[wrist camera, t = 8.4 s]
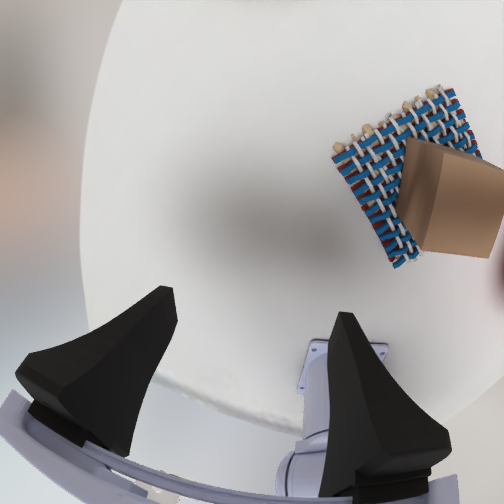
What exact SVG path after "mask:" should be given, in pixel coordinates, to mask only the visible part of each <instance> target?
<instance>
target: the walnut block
mask: <svg viewBox="0 0 504 504" xmlns="http://www.w3.org/2000/svg"><path fill="white" fill-rule="evenodd" d="M395 212H396V214H397V215H398V217H399V218H400V219H401V221H402V222H403V224H404V225H405V227H406V228H407V230H408V231H409V232H410V234H411V235H412V237H413V238H414V240H415V241H416V243H417V245H418V246H419V248H420V249H421V250H422V251H431V252H439V253H448V254H456V255H465V256H473V257H481V258H489V256H490V253H491V251H492V248H493V245H494V242H495V240H496V237H497V234H498V231H499V228H500V225H501V221H502V218H503V215H504V170H502V169H501V168H499V167H497V166H495V165H493V164H491V163H489V162H487V161H485V160H483V159H481V158H479V157H477V156H474V155H472V154H470V153H467V152H464V151H461V150H457V149H454V148H451V147H447V146H444V145H440V144H436V143H432V142H428V141H424V140H420V139H416V138H411V137H407V142H406V150H405V158H404V164H403V171H402V177H401V183H400V188H399V194H398V199H397V204H396V209H395Z"/></svg>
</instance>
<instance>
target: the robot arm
mask: <svg viewBox="0 0 504 504" xmlns="http://www.w3.org/2000/svg"><path fill="white" fill-rule="evenodd" d="M177 322H178V319H177V313H176V306H175V300H174V293H173V288H172V287H167V286H161V285H160V286H159V287H157V288H156V289H155V290H153V291H152V292H150V293H149V294H148V295H146V296H145V297H144V298H142V299H141V300H140V301H138V302H137V303H136V304H134V305H133V306H131V307H130V308H129V309H127V310H126V311H124V312H123V313H121V314H120V315H118V316H117V317H115V318H114V319H112V320H111V321H109V322H108V323H106V324H104V325H103V326H101V327H99V328H97V329H95V330H93V331H92V332H90V333H88V334H86V335H83V336H81V337H79V338H77V339H74V340H72V341H70V342H67V343H64V344H62V345H59V346H56V347H53V348H49V349H46V350H41V351H37V352H33V353H29V354H28V356H27V357H26V358H25V359H24V361H23V362H22V363H21V365H20V366H19V367H18V369H17V370H16V372H15V375H16V378H17V379H18V381H19V382H20V383H21V385H22V386H23V387H24V388H25V389H26V390H27V392H28V393H29V394H30V395H31V396H32V397H33V398H34V401H33V403H30V402H29V401H28V400H27V399H26V398H24V397H23V396H22V395H20V394H19V393H18V392H16V391H15V390H12V391H11V392H10V394H9V395H8V397H7V398H6V400H5V401H4V403H3V405H2V406H1V408H0V436H1V437H2V438H3V439H5V441H6V442H7V443H8V444H10V445H11V446H12V447H13V448H14V449H15V450H16V451H17V452H18V453H19V454H20V455H21V456H22V457H24V458H25V459H26V460H27V461H28V462H29V463H30V464H32V465H33V466H34V467H35V468H36V469H38V470H39V471H40V472H41V473H42V474H44V475H45V476H46V477H48V478H49V479H50V480H51V481H53V482H54V483H56V484H57V485H58V486H60V487H61V488H62V489H64V490H65V491H67V492H68V493H70V494H71V495H73V496H74V497H76V498H77V499H79V500H80V501H82V502H83V503H85V504H162V503H159V502H156V501H153V500H150V499H147V495H148V491H147V490H145V489H143V488H141V487H139V486H137V485H135V484H134V483H133V482H132V481H129V480H127V479H125V478H123V477H121V476H119V475H117V474H115V473H113V472H112V471H111V469H112V470H115V471H117V472H119V473H121V474H124V475H126V476H128V477H131V478H133V479H136V480H138V481H141V482H143V483H146V484H149V485H151V486H154V487H157V488H160V489H163V490H166V491H169V492H172V493H175V494H179V495H182V496H186V497H189V498H193V499H197V500H201V501H206V502H210V503H214V504H459V491H458V480H457V475H456V474H454V475H450V476H446V477H443V478H439V479H436V480H433V481H430V482H428V476H430V475H431V467H432V466H434V465H435V464H437V463H439V462H440V461H442V460H443V459H445V458H446V457H447V456H448V455H449V454H450V453H451V452H452V448H451V442H450V437H449V432H448V430H447V429H446V428H444V427H443V426H442V425H440V424H439V423H438V422H436V421H435V420H434V419H432V418H431V417H430V416H429V415H428V414H427V413H425V412H424V411H423V410H422V409H421V408H420V407H419V406H418V405H417V404H416V403H415V402H414V401H413V400H412V399H411V398H410V397H409V396H408V395H407V394H406V393H405V392H404V391H403V389H402V388H401V387H400V386H399V385H398V384H397V382H396V381H395V380H394V379H393V377H392V376H391V375H390V373H389V372H388V371H387V369H386V368H385V366H384V365H383V363H382V361H383V359H384V358H385V356H386V354H387V352H388V350H389V347H388V345H385V344H370V343H369V341H368V339H367V337H366V336H365V334H364V332H363V330H362V328H361V327H360V325H359V323H358V321H357V319H356V317H355V316H354V314H353V313H349V312H339V313H338V316H337V319H336V322H335V325H334V328H333V331H332V333H331V336H330V339H329V341H317V340H314V341H312V342H311V343H310V346H309V349H308V353H307V357H306V360H305V364H304V367H303V370H302V374H301V377H300V381H299V384H298V387H297V394H300V395H305V402H304V416H303V430H302V438H303V440H301V441H296V448H295V451H291V452H289V453H288V454H287V455H286V456H285V457H284V459H283V460H282V462H281V463H280V465H279V467H278V470H277V474H276V484H275V485H276V494H277V496H273V495H263V494H255V493H248V492H241V491H235V490H230V489H224V488H219V487H214V486H210V485H206V484H201V483H197V482H194V481H190V480H186V479H183V478H179V477H176V476H172V475H169V474H166V473H163V472H160V471H157V470H154V469H151V468H148V467H146V466H143V465H140V464H138V463H135V462H133V461H130V460H128V459H125V458H124V457H127V456H129V453H130V447H131V442H132V438H133V433H134V430H135V426H136V422H137V418H138V414H139V411H140V408H141V405H142V402H143V399H144V396H145V393H146V390H147V388H148V385H149V383H150V380H151V378H152V376H153V374H154V372H155V370H156V368H157V366H158V364H159V362H160V360H161V359H162V357H163V355H164V353H165V351H166V349H167V347H168V345H169V343H170V341H171V339H172V336H173V333H174V330H175V328H176V325H177ZM313 348H315V349H313Z"/></svg>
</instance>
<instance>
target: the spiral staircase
mask: <svg viewBox="0 0 504 504" xmlns="http://www.w3.org/2000/svg"><path fill="white" fill-rule="evenodd" d="M160 472H163V471H162V470H161V471H160ZM163 473H165V472H163ZM172 476H173V475H172ZM134 483H135V484H136V485H138V486H139V487H141V488H143V489H145V490H147V491H148V495H147V499H150V500H153V501H156V502H159V503H162V504H176V503H178V501H179V499H178V497H179V494H175V493H172V492H169V491H166V490H163V489H160V488H157V487H154V486H151V485H149V484H146V483H143V482H141V481H138V480H136V481H135V482H134Z"/></svg>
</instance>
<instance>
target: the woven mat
mask: <svg viewBox="0 0 504 504" xmlns="http://www.w3.org/2000/svg"><path fill="white" fill-rule="evenodd" d="M437 89H438V91H439V92H440V94H437V93H436V92H435V91H434V90H433V89H427V91H426V96H427V97H428V99H427V100H426V101H425V102H424V103H423V102H422V100H421V99H420V97H419V96H416V97H414V98H415V100H416V102H415V105H416V108H414V109H413V106H412V104H411V103H408V102H406V101H405V103H404V105H403V110H404V112H405V113H404V112H403V113H401V115H402V116H400V115H398V114H396V113H395V114H391V117H389V119H390V121H391V122H389V123H388V124H386V123H385V122H384V121H382V122H380V123H379V124H378V125H379V127H380V128H378V129H374V130H373V129H372V127H371V126H370V125H369V124H367V125H365V126H363V129H362V132H363V133H364V136H365V137H364V136H362V137H361V140H360V141H358V140H357V138H356V137H355V136H354V135H353V134H351V136H352V138H353V140H354V142H352V143H353V145H352V146H350V147H349V146H347V147H346V148H344V146H343V145H342V144H340V143H337V142H336V143H335V145H334V147H333V149H334V151H335V152H336V153H337V155H336V156H334V157H333V158H332V160H333V161H334V163H336V164H337V163H339V162H341V161H342V162H343V163H344V165H342V166H340V167H338V168H337V169H338V171H339V172H340V173H341V174H342V175H343V176H345V175H346V174H348V173H350V175H348V176H346V177H345V180H346V182H347V183H348V184H352V183H354V182H356V185H354V186H353V187H351V190H352V191H353V193H354V195H355V196H356V197H357V196H358V195H360V194H362V195H360V196H359V197H357V200H358V201H359V203H360V204H361V205H363V204H364V203H365V204H364V205H363V206H362V207H361V208H362V210H363V211H365V214H366V215H367V217H368V219H369V220H370V222H371V223H375V222H377V221H378V222H377V223H375V224H373V225H372V226H373V228H374V230H375V232H376V234H377V235H378V237H379V239H380V240H381V241H383V242H381V244H382V245H383V247H384V249H385V251H386V253H387V255H388V256H389V258H388V259H389V261H390V262H393V261H394V259H395V258H396V260H397V261H396V262H394V263H393V267H394V269H395V268H397V267H399V266H401V265H402V264H403V263H404V262H405V261H407V262H410V260H409V259H413V260H414V262H415V261H416V260H417V258H416V256H417V255H418V254H419V255H423V253H422V250H421V249H420V248H419V246H418V245H417V243H416V241H415V240H414V238H413V237H412V235H411V234H410V232H409V231H408V230H407V228H406V227H405V225H404V224H403V222H402V221H401V219H400V218H399V217H398V215H397V214H396V212H395V209H396V204H397V199H398V194H399V188H400V183H401V177H402V171H403V164H404V158H405V156H404V154H405V150H406V142H407V137H411V138H416V139H420V140H424V141H428V142H432V143H436V144H440V145H444V143H446V142H447V144H445V145H444V146H447V147H451V148H454V149H457V150H461V151H464V152H467V153H470V154H472V155H474V156H477V157H479V158H481V159H482V156H481V154H480V151H479V150H478V149H477V148H478V147H477V142H476V140H472V141H471V139H475V137H474V134H473V132H472V130H469V131H467V130H468V128H469V127H470V126H469V124H468V122H466V120H465V119H463V118H465V117H466V116H465V113H464V111H463V109H460V110H458V111H456V110H457V109H458V108H459V107H460V103H459V101H458V100H457V99H453V100H452V101H451V100H450V99H449V98H451V97H453V96H456V94H455V92H454V90H453V88H451V89H449V90H447V91H444V89H443V86H441V85H440V84H439V85H438V88H437ZM444 101H445V105H444V106H443V105H442V104H441V103H443V102H444ZM431 108H432V112H431V113H430V114H429V112H428V110H429V109H431ZM448 113H450V114H451V115H449V116H448ZM419 115H420V116H421V117H422V118H421V119H419V120H418V116H419ZM436 121H437V122H436ZM410 122H411V123H410ZM426 125H427V127H426V128H425V126H426ZM452 125H453V126H452ZM424 128H425V129H424ZM395 129H396V132H395V133H394V134H393V135H392V134H391V133H392V132H393V131H394V130H395ZM423 129H424V130H423ZM441 130H442V132H443V133H442V134H441ZM466 131H467V132H466ZM412 133H413V136H414V137H412ZM458 135H459V137H458ZM382 136H385V137H386V140H383V137H382ZM430 137H432V138H433V139H432V140H430V141H429V140H428V138H430ZM399 141H402V142H403V144H401V145H399V146H398V143H397V142H399ZM365 147H366V148H367V151H365V149H364V148H365ZM390 148H392V150H391V151H389V149H390ZM476 149H477V150H476ZM357 152H359V154H360V155H359V156H357V157H355V156H354V155H355V154H356V153H357ZM385 152H386V153H385ZM350 157H351V158H352V160H351V159H350ZM371 158H373V160H374V161H372V160H371ZM394 158H397V159H398V160H396V161H395V160H394ZM390 161H391V162H392V163H391V162H390ZM362 164H365V166H363V167H361V165H362ZM356 167H357V168H358V170H357V169H356ZM369 174H370V175H369ZM387 176H388V177H389V179H388V177H387ZM362 179H363V180H362ZM384 179H385V181H384ZM374 185H377V186H375V187H373V186H374ZM368 188H370V190H369V189H368ZM388 190H390V191H388ZM380 208H381V209H380ZM401 234H402V236H401ZM423 252H424V251H423Z"/></svg>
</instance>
